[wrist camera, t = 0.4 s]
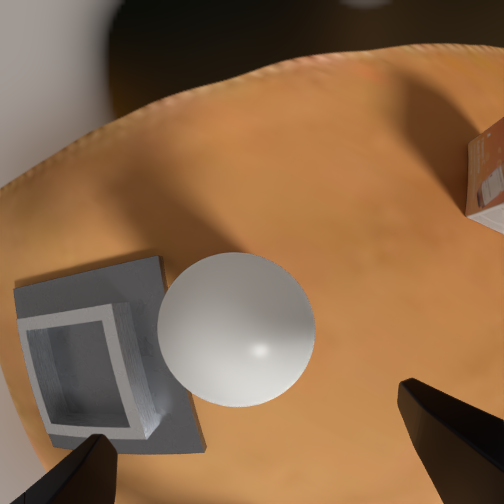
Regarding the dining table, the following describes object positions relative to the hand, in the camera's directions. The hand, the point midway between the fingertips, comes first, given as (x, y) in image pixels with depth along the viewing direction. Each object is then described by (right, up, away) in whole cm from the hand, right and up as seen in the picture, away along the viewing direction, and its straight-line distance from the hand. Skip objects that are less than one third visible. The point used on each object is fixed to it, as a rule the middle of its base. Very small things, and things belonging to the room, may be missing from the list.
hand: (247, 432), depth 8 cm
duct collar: (-13, -5, +15) cm, 20 cm away
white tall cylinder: (0, +1, +15) cm, 15 cm away
